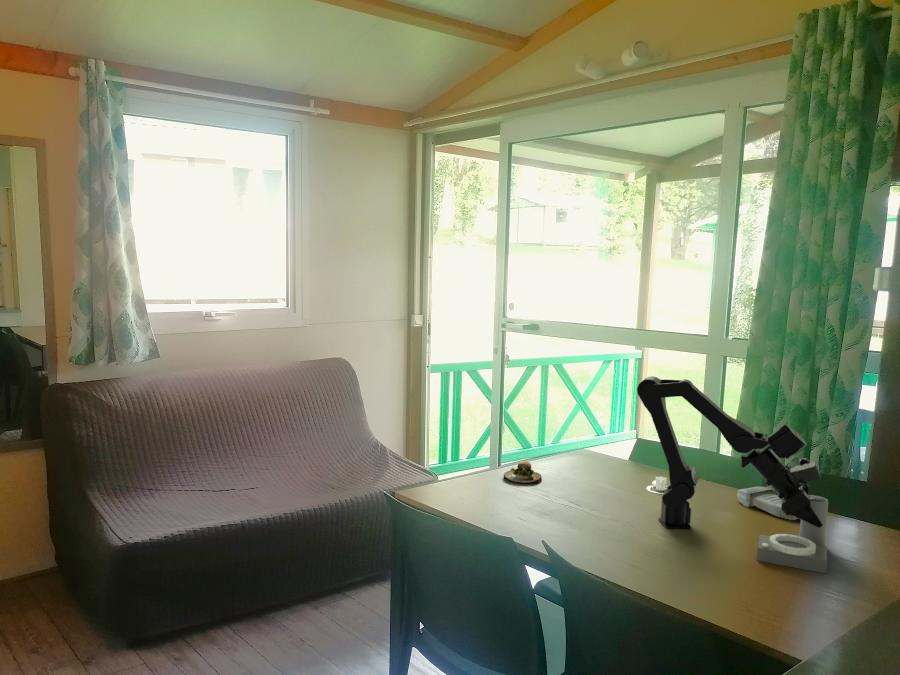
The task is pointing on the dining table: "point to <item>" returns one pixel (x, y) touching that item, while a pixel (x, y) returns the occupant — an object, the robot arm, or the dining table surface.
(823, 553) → the grey rectangular block
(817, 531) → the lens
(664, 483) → the teacup and saucer
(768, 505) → the handheld device
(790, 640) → the dining table surface
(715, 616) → the dining table surface
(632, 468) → the dining table surface
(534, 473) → the brown round piece
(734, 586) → the dining table surface
